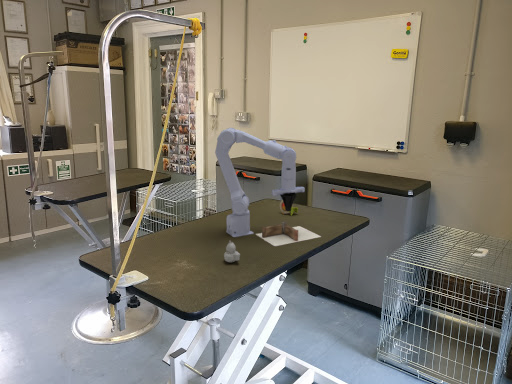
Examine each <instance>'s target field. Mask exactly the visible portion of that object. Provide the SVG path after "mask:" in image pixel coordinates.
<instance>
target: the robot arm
mask: <svg viewBox="0 0 512 384" xmlns="http://www.w3.org/2000/svg"><path fill="white" fill-rule="evenodd" d="M216 141H217V142H216V144H215V145H216V146H215V152H214V153H215V157H216V159H217V162H218V165H219V167H220V170H221V173H222V175H223V178H224V180H225V184H226V185H227V188H228V191H229V194H230V201H231V210H232V213H230V214H227V216H226V231H225V233H227V234H228V235H229V236H231V237H233V238H239V237H242V236H244V237H245V236H249V235H254V234H255V233H254V231H252V230H251V223H250V222H251V220H250V219H251V215H250V214H251V213H250V210H249V206H250V198H249V197H248V196H247V195H246V193H245V191H244V190H243V189H242V186H241V184H240V181H239V178H238V176H237V173H236V170H235V168H234V164H233V162H232V160H231V156H230V155H229V152H230V150H231V148H232V146H233V145H234V144H235V143H236V144H240V143H241V144H242V143H246V144H248V145H252V146H254V147H256V148H258V149H262V150H263V152H264V154H266V155H268V156H270V157H272V158H275V159H277V160H281V162H282V165H281V182H280V183H281V187H280V188H277V189H272V190H271V196H274V197H276V196H280V197H281V199H282V200H283V202H284V205H285V210H286V211H291V208H292V205H293V206H294V202H295V200H296V198H297V197H298V195H297V193H305V190H306V189H305V187H304V186H296V181H297V179H296V177H297V176H296V175H297V173H296V172H297V168H296V167H297V166H296V164H297V163H296V161H297V153H296V151H295V150H294V149H293V148H292V147H290V146H289V147H288V146H287V144H285V145H282V144H280V143H278V142H277V140H275V139H273V140H271V139H270V140H267V141H264V140H263V139H260V138H258V137H256V136H254V135H252V134H250V133H248V132H247V131H243V130H241V129H236V128H235V127H228V128H226V129H223V130H222V131H221V132H220V133H219V134H218V136H217V139H216ZM282 200H281V201H282Z"/></svg>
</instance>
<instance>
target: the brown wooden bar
mask: <svg viewBox="0 0 512 384" xmlns="http://www.w3.org/2000/svg"><path fill="white" fill-rule="evenodd" d="M292 227H293V226H291V225H288V224H287V225H285V234H286V235H288V236H290V237H291V238H293V239H294V240H298V230H296V229H294V228H292Z"/></svg>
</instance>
